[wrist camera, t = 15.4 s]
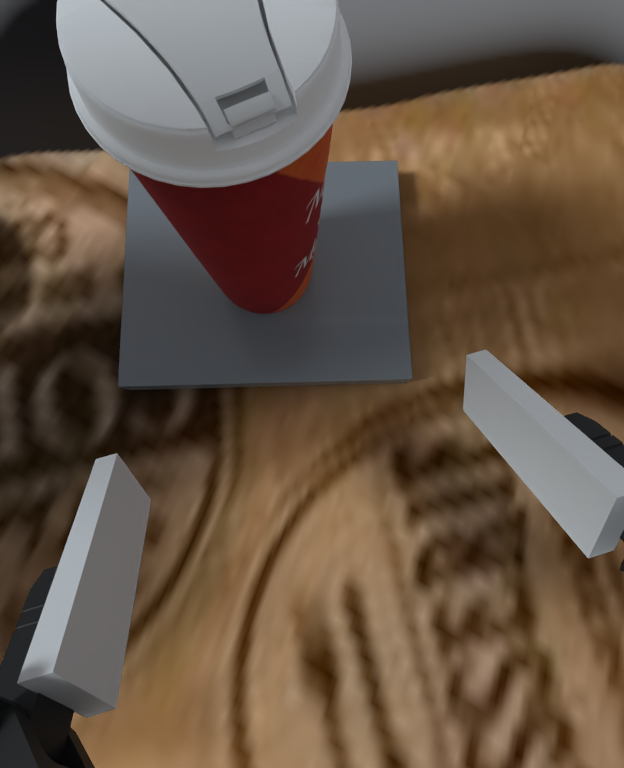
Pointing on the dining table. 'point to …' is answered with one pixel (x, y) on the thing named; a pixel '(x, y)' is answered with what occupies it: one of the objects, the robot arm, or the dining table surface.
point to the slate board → (281, 329)
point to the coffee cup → (218, 123)
